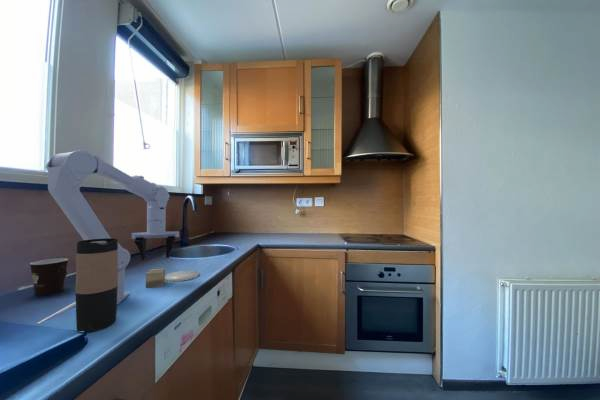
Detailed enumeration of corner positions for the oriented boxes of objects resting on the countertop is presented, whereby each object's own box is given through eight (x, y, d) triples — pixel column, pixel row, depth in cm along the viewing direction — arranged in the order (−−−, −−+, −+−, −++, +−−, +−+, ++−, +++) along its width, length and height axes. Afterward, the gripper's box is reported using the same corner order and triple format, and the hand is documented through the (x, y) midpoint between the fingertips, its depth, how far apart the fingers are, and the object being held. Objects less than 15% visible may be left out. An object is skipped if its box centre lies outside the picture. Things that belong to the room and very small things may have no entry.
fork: (29, 327, 58) (29, 319, 58) (93, 294, 78) (93, 288, 78) (44, 326, 58) (44, 318, 58) (104, 293, 78) (104, 288, 78)
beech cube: (162, 286, 84) (162, 272, 84) (145, 287, 83) (145, 273, 83) (165, 282, 89) (165, 268, 89) (149, 283, 88) (150, 269, 88)
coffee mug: (30, 292, 79) (30, 261, 79) (66, 285, 85) (67, 257, 85) (28, 302, 71) (29, 267, 71) (69, 294, 77) (69, 262, 77)
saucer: (197, 279, 91) (197, 277, 91) (161, 282, 88) (161, 280, 88) (200, 271, 103) (200, 269, 103) (168, 273, 99) (168, 271, 99)
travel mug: (88, 319, 60) (89, 238, 60) (123, 316, 62) (124, 237, 62) (66, 335, 52) (67, 243, 53) (106, 331, 54) (107, 242, 55)
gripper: (180, 219, 92) (180, 254, 92) (136, 219, 88) (136, 257, 88) (177, 220, 86) (176, 258, 85) (129, 221, 81) (129, 261, 81)
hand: (156, 258), depth 86 cm, fingers open, 7 cm apart
